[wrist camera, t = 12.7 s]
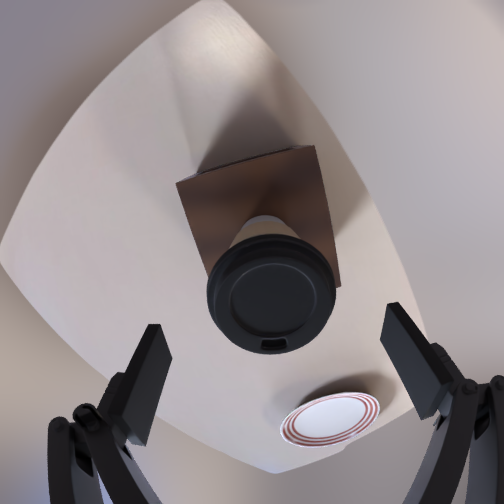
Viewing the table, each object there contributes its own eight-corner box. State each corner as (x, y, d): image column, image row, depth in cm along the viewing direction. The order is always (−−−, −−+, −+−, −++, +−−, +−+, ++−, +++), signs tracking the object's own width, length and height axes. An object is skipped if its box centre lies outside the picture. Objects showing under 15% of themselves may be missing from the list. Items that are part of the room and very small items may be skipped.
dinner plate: (263, 407, 60) (263, 417, 57) (369, 369, 56) (373, 379, 52) (298, 447, 69) (299, 455, 66) (381, 417, 65) (384, 425, 61)
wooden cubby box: (195, 173, 40) (175, 183, 29) (297, 145, 38) (314, 145, 28) (229, 276, 46) (223, 315, 36) (321, 253, 45) (341, 286, 34)
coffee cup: (250, 287, 34) (249, 377, 20) (208, 224, 31) (174, 289, 17) (318, 251, 32) (360, 327, 18) (280, 182, 29) (305, 215, 15)
